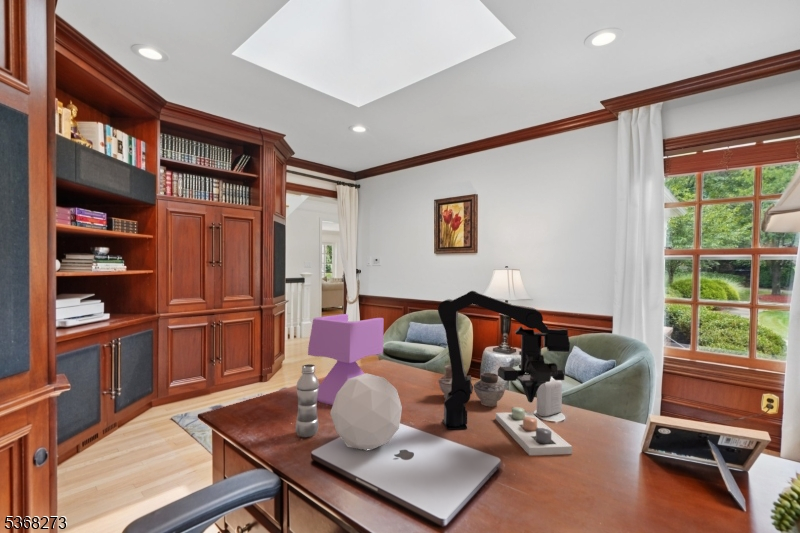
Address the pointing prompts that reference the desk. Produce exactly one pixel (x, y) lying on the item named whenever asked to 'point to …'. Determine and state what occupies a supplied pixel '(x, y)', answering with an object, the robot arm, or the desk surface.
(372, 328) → the purple table lamp
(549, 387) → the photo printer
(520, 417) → the sage button
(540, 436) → the charcoal button
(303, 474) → the desk surface
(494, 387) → the pottery
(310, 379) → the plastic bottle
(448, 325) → the robot arm
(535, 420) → the terracotta button
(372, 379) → the geometric orb
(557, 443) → the button console
